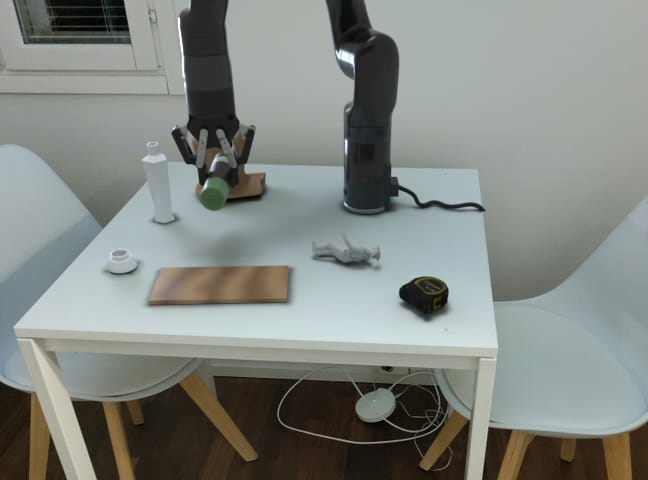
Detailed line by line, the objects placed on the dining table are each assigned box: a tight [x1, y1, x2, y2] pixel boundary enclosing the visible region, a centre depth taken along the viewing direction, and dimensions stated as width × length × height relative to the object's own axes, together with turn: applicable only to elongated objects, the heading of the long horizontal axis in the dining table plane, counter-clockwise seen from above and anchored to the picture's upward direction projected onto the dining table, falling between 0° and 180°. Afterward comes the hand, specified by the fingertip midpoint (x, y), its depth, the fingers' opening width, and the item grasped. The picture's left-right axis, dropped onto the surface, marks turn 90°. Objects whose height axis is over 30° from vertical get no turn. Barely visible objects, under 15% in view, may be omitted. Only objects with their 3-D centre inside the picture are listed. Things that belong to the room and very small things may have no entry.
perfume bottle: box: [141, 141, 176, 224], centre depth 134 cm, size 5×4×15 cm
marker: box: [199, 151, 231, 212], centre depth 119 cm, size 18×4×4 cm, turn 1°
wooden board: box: [148, 265, 290, 306], centre depth 117 cm, size 22×11×1 cm, turn 92°
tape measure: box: [398, 275, 450, 316], centre depth 111 cm, size 7×7×4 cm
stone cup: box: [191, 131, 267, 200], centre depth 143 cm, size 15×12×15 cm
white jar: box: [106, 248, 138, 274], centre depth 121 cm, size 5×3×5 cm
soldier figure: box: [311, 232, 382, 264], centre depth 123 cm, size 8×5×12 cm
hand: (220, 186), depth 119 cm, fingers closed on marker, 4 cm apart
